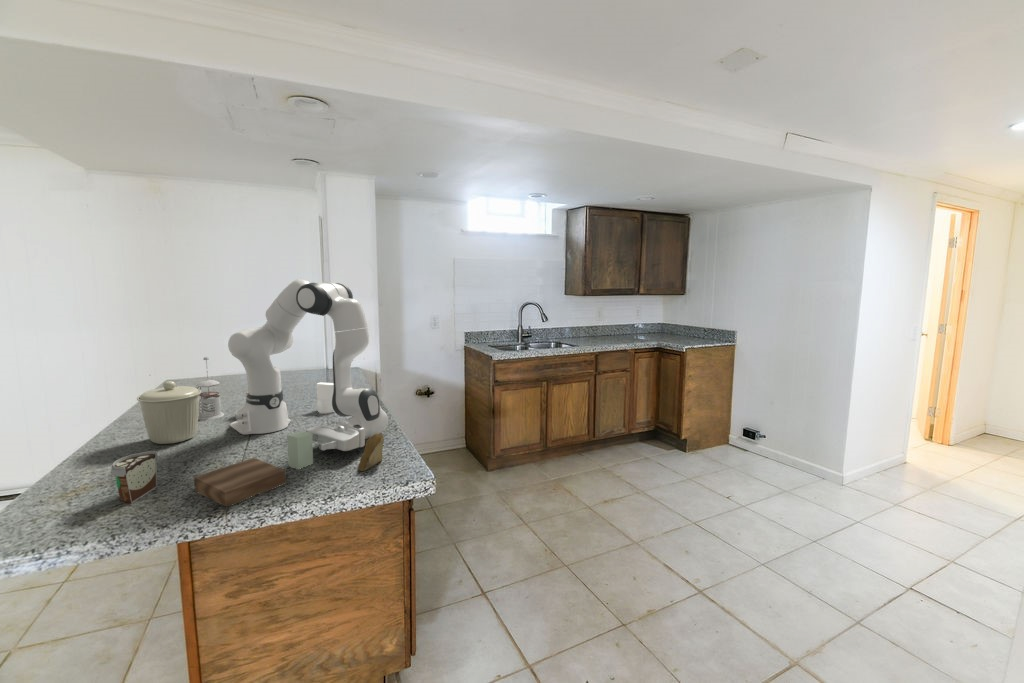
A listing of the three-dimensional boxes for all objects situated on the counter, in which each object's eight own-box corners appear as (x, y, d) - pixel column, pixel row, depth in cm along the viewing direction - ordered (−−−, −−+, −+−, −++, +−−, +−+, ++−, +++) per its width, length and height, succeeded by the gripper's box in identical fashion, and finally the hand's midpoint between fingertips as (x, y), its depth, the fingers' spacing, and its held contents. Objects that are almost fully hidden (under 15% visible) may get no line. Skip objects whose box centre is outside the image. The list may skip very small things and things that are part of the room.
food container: (137, 484, 125) (133, 450, 123) (160, 484, 125) (157, 450, 124) (100, 507, 113) (96, 469, 111) (127, 506, 113) (123, 468, 112)
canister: (169, 430, 169) (164, 375, 166) (216, 431, 168) (212, 376, 165) (126, 447, 151) (120, 386, 148) (179, 449, 150) (174, 388, 148)
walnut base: (195, 491, 122) (193, 477, 121) (254, 470, 135) (253, 457, 135) (226, 507, 114) (225, 492, 113) (285, 483, 127) (285, 470, 127)
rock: (364, 468, 133) (393, 455, 140) (352, 443, 135) (381, 430, 142) (353, 479, 140) (381, 466, 147) (342, 454, 142) (370, 442, 149)
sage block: (288, 466, 139) (287, 435, 138) (303, 460, 143) (301, 430, 142) (298, 469, 136) (296, 438, 135) (313, 464, 141) (311, 433, 139)
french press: (214, 420, 181) (209, 359, 178) (185, 419, 182) (180, 358, 178) (229, 412, 191) (225, 355, 188) (202, 412, 191) (198, 354, 188)
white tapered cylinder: (313, 412, 194) (311, 385, 192) (324, 406, 203) (323, 380, 201) (332, 414, 192) (331, 386, 191) (343, 408, 201) (342, 382, 199)
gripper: (327, 418, 159) (290, 428, 147) (367, 429, 149) (331, 441, 137) (328, 435, 160) (291, 447, 148) (367, 447, 149) (332, 461, 138)
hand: (311, 444), depth 142 cm, fingers open, 8 cm apart
